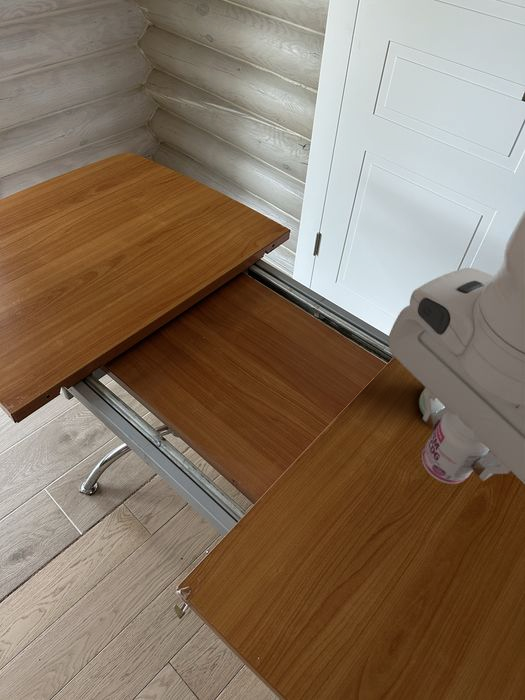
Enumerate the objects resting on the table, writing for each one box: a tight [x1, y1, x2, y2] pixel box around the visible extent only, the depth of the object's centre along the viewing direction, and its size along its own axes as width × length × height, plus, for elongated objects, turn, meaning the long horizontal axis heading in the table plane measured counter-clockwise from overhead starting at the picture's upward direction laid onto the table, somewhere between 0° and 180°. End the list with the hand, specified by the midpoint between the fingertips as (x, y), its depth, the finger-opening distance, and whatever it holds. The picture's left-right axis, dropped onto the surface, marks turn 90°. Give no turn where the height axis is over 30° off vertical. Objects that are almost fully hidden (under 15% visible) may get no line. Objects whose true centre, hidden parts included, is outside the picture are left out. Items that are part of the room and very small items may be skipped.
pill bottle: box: [421, 410, 490, 485], centre depth 47 cm, size 5×5×8 cm
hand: (456, 445), depth 48 cm, fingers closed on pill bottle, 5 cm apart
